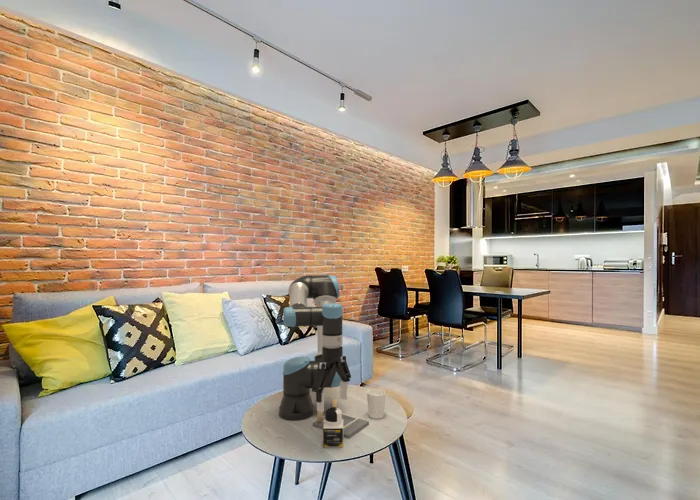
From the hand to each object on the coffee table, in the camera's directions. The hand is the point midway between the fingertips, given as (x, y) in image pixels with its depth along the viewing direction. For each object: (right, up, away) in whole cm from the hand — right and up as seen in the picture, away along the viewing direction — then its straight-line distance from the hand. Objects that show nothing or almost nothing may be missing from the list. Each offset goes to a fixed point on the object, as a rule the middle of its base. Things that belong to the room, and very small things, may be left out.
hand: (332, 404), depth 128 cm
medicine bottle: (0, -14, 0) cm, 14 cm away
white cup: (+18, -15, +23) cm, 33 cm away
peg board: (+3, -14, +14) cm, 20 cm away
